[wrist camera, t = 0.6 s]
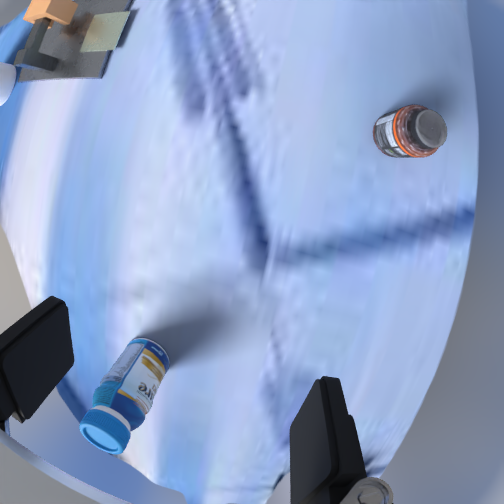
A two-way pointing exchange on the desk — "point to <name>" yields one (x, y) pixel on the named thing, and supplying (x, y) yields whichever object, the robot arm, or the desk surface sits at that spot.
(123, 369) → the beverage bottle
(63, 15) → the orange staple
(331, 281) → the desk surface
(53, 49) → the stand
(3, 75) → the cylinder with rectangular tab
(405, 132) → the supplement bottle
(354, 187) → the desk surface
